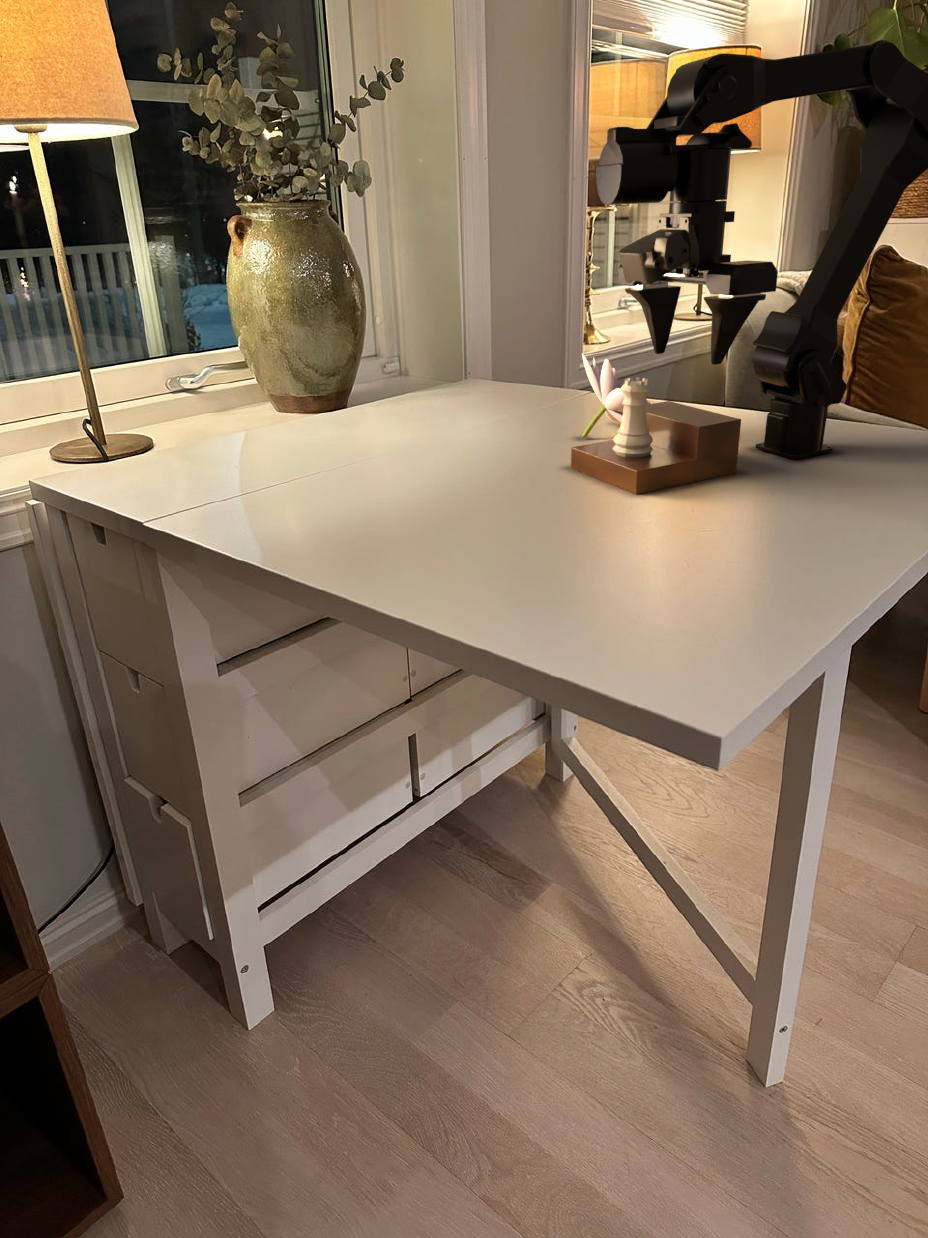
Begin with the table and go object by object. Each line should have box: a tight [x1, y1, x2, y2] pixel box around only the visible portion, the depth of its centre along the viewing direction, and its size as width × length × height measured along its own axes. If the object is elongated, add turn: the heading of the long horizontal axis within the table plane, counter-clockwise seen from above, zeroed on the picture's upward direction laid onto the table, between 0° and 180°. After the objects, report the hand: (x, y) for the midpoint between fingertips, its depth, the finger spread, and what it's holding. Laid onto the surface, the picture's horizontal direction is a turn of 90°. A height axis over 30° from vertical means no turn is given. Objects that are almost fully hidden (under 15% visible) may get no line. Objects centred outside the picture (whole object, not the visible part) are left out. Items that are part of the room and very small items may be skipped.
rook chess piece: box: [612, 377, 653, 457], centre depth 97 cm, size 4×4×8 cm
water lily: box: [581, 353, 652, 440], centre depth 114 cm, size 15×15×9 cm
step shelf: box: [570, 400, 742, 495], centre depth 99 cm, size 14×12×6 cm
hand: (686, 358), depth 97 cm, fingers open, 9 cm apart
